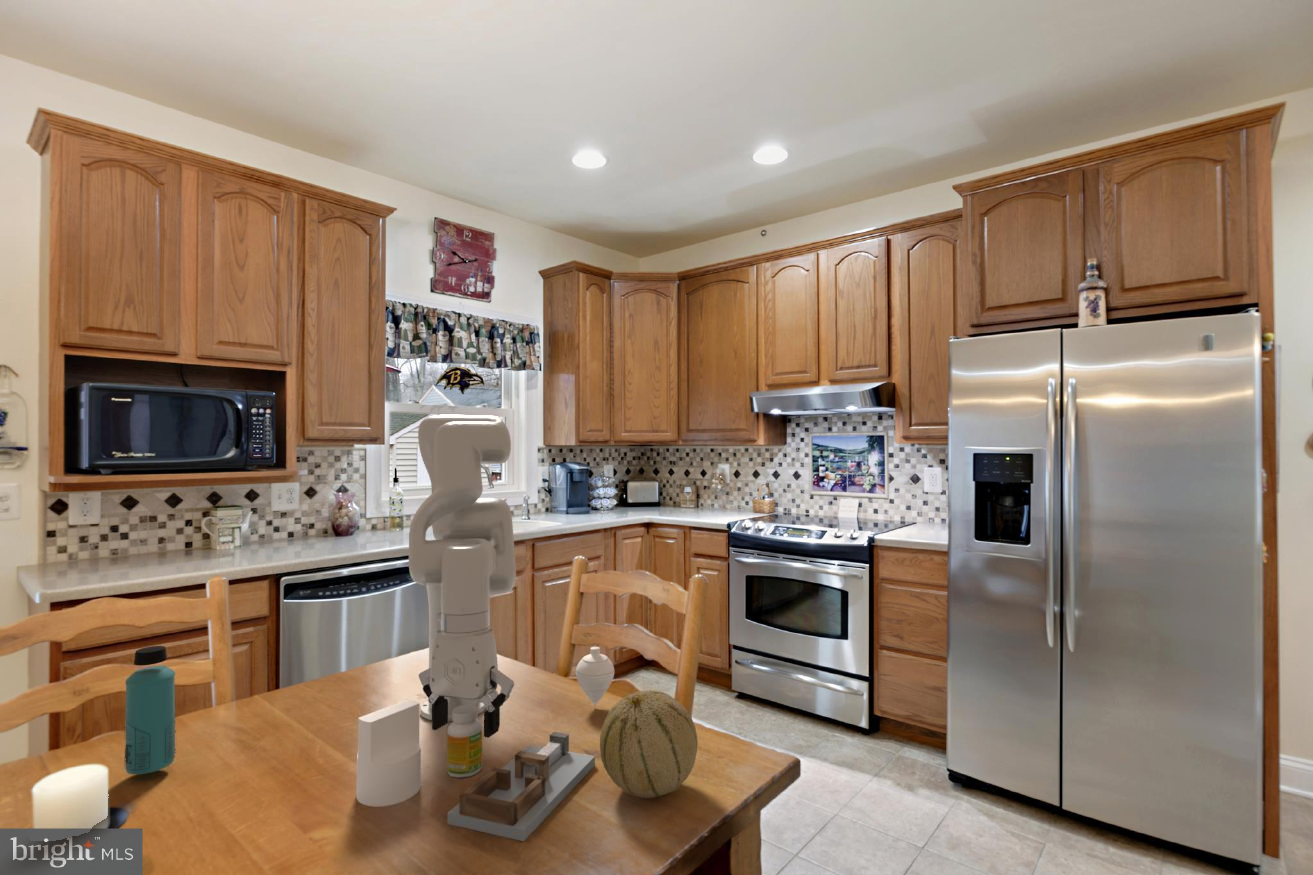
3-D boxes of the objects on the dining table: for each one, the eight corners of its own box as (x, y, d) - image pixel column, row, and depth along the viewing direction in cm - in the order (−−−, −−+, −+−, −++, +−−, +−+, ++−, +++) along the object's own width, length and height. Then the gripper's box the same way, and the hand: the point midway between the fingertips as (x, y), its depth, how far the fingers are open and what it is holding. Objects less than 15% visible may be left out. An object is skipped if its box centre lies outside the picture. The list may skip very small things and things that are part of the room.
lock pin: (553, 748, 109) (553, 731, 109) (568, 751, 108) (568, 734, 108) (521, 777, 99) (521, 758, 99) (537, 780, 98) (537, 761, 98)
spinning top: (568, 712, 128) (568, 650, 128) (587, 698, 135) (587, 640, 135) (603, 718, 125) (603, 655, 125) (620, 704, 132) (620, 644, 133)
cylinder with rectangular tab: (381, 813, 93) (382, 727, 93) (343, 795, 97) (344, 714, 98) (433, 785, 100) (433, 706, 101) (395, 770, 105) (396, 694, 105)
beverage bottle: (185, 768, 106) (187, 643, 106) (141, 788, 99) (143, 655, 100) (157, 762, 108) (159, 639, 108) (112, 781, 101) (114, 651, 102)
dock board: (530, 753, 111) (530, 724, 111) (594, 765, 107) (595, 734, 107) (447, 823, 90) (447, 787, 90) (523, 841, 86) (523, 803, 86)
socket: (494, 784, 98) (494, 767, 98) (545, 794, 95) (545, 776, 95) (459, 814, 90) (459, 795, 90) (513, 826, 87) (513, 807, 87)
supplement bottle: (472, 780, 102) (472, 717, 102) (440, 776, 103) (440, 714, 103) (487, 764, 107) (488, 704, 107) (457, 760, 108) (457, 701, 108)
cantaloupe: (711, 778, 102) (711, 682, 103) (675, 828, 89) (675, 716, 89) (626, 760, 108) (626, 669, 109) (581, 804, 95) (581, 699, 95)
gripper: (405, 623, 105) (404, 733, 104) (498, 631, 99) (498, 747, 98) (436, 613, 112) (435, 716, 111) (524, 620, 106) (525, 728, 105)
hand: (465, 730), depth 104 cm, fingers open, 9 cm apart
